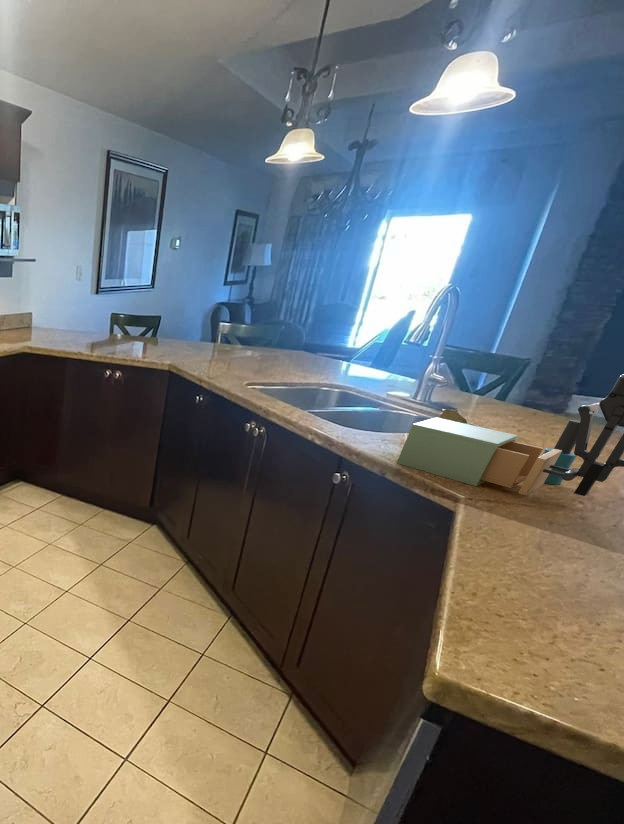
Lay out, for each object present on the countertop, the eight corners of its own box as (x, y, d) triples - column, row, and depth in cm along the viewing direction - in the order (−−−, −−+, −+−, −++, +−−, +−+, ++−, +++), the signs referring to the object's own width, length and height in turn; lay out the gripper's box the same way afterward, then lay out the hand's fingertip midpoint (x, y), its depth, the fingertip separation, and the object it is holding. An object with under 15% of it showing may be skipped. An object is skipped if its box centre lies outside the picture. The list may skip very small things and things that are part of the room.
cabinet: (496, 475, 112) (518, 435, 108) (476, 486, 106) (497, 443, 102) (419, 454, 124) (435, 417, 120) (396, 463, 117) (412, 423, 113)
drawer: (571, 492, 103) (592, 457, 100) (555, 504, 97) (577, 467, 93) (463, 462, 117) (478, 431, 113) (443, 471, 110) (458, 438, 107)
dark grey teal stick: (562, 482, 110) (597, 423, 105) (557, 486, 108) (592, 426, 102) (533, 474, 114) (565, 417, 108) (527, 478, 112) (559, 419, 106)
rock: (484, 443, 127) (440, 427, 134) (494, 421, 121) (447, 406, 129) (456, 470, 127) (413, 452, 134) (464, 449, 121) (419, 432, 128)
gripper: (716, 383, 85) (634, 503, 95) (604, 367, 95) (540, 478, 105) (711, 386, 81) (626, 511, 91) (595, 370, 91) (530, 484, 101)
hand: (580, 493), depth 98 cm, fingers closed
